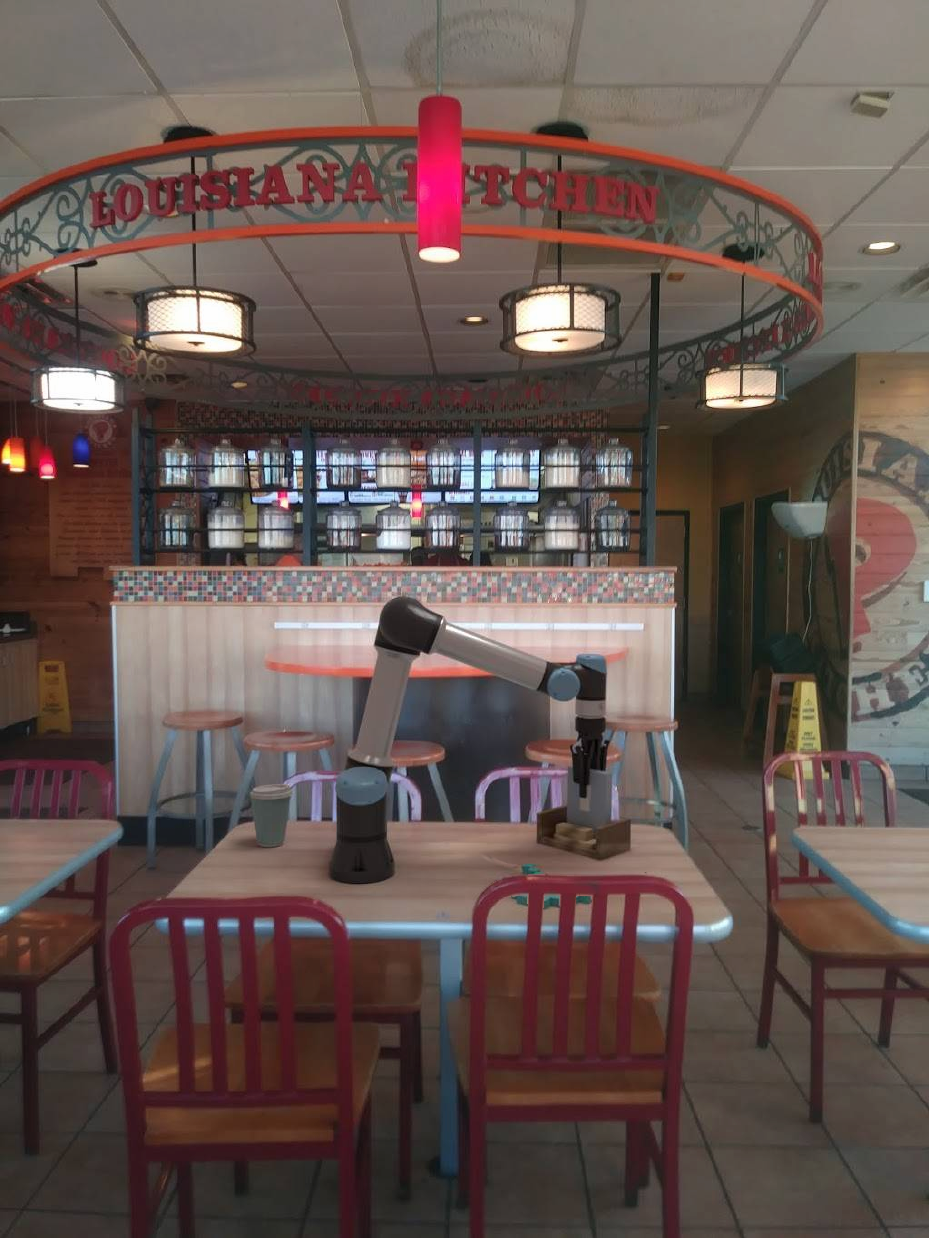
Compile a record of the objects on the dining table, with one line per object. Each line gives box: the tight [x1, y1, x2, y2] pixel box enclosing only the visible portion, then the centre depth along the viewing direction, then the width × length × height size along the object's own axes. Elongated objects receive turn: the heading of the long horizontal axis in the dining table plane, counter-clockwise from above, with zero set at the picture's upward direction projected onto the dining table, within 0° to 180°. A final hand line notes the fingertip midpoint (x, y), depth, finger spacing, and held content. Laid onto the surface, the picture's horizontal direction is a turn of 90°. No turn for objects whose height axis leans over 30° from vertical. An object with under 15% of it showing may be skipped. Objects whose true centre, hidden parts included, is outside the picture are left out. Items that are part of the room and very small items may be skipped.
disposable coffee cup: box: [249, 783, 293, 848], centre depth 225 cm, size 11×11×15 cm
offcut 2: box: [554, 834, 596, 850], centre depth 217 cm, size 12×4×2 cm, turn 44°
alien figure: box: [508, 862, 592, 910], centre depth 191 cm, size 20×2×20 cm
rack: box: [536, 804, 632, 861], centre depth 218 cm, size 20×12×9 cm, turn 44°
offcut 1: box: [556, 822, 593, 842], centre depth 217 cm, size 9×3×2 cm, turn 49°
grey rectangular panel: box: [566, 764, 613, 834], centre depth 220 cm, size 12×2×17 cm, turn 44°
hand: (588, 809), depth 220 cm, fingers closed on grey rectangular panel, 2 cm apart
